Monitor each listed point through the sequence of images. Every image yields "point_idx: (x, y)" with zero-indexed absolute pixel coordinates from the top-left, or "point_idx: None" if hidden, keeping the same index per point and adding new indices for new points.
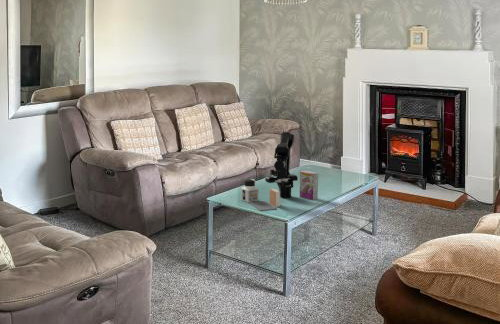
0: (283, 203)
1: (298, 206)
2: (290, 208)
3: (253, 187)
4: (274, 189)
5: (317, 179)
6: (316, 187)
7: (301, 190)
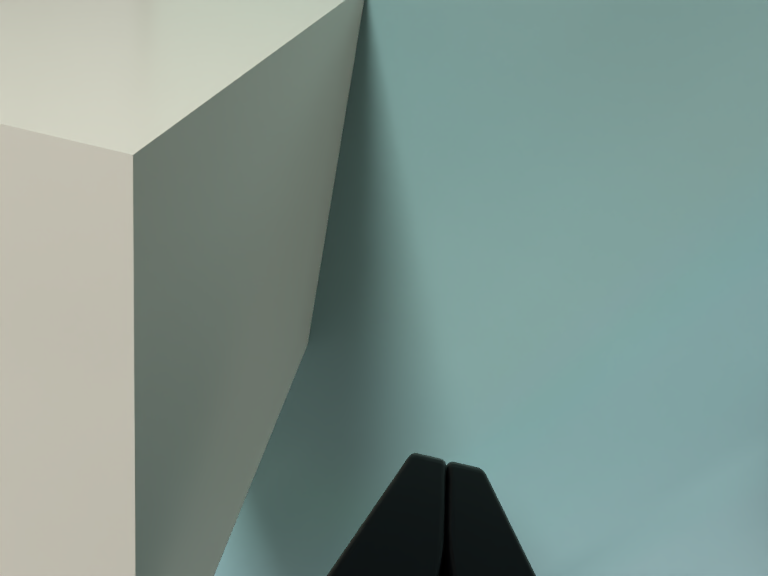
0: (569, 203)
1: (657, 559)
2: None
3: None
4: (11, 406)
5: None
6: None
7: None
